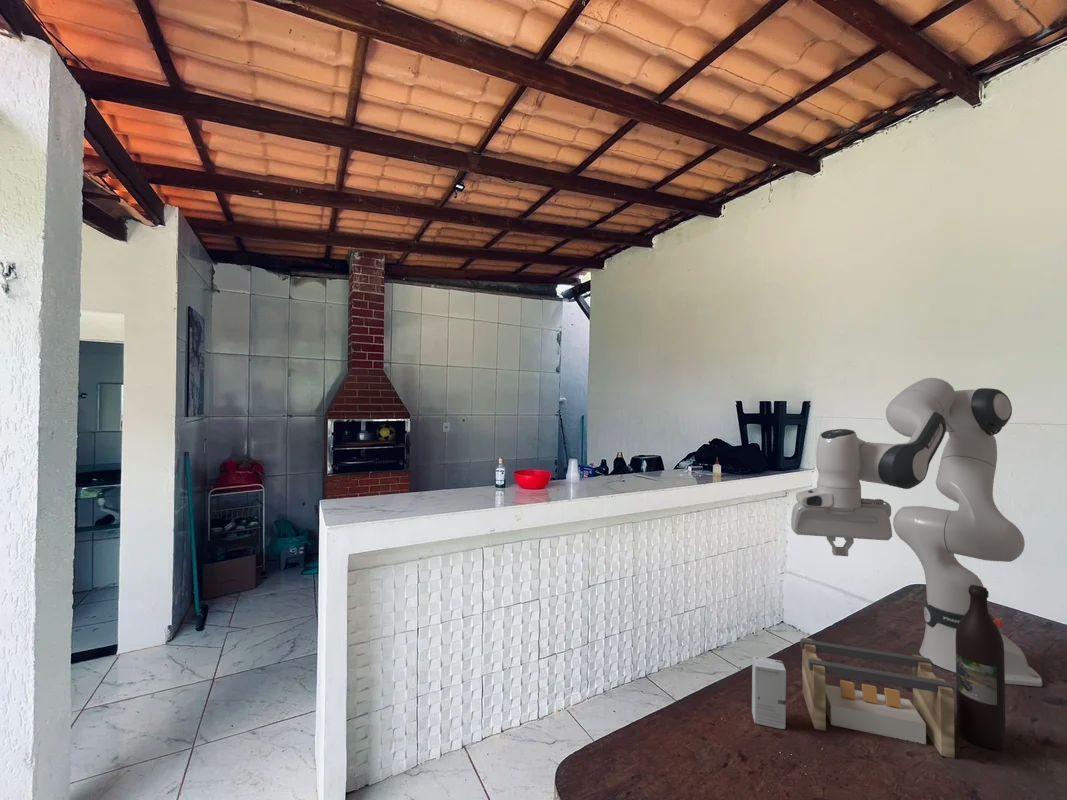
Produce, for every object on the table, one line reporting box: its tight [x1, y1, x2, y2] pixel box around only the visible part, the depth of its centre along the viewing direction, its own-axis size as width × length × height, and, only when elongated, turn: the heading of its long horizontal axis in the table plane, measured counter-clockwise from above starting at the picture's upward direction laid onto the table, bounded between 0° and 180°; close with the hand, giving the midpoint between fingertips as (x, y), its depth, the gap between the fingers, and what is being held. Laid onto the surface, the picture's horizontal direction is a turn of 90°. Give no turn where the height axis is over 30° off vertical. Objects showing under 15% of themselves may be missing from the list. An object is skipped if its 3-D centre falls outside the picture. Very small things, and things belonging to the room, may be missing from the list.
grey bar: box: [808, 659, 955, 692], centre depth 94 cm, size 24×2×2 cm, turn 69°
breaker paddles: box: [839, 679, 901, 708], centre depth 98 cm, size 10×1×3 cm, turn 69°
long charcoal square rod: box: [800, 638, 934, 671], centre depth 102 cm, size 24×2×2 cm, turn 69°
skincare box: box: [751, 655, 787, 730], centre depth 98 cm, size 6×4×12 cm
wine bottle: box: [955, 585, 1007, 750], centre depth 93 cm, size 7×7×30 cm
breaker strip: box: [825, 684, 927, 745], centre depth 98 cm, size 16×8×4 cm, turn 69°
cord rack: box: [801, 637, 956, 759], centre depth 98 cm, size 23×13×13 cm, turn 69°
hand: (840, 555), depth 111 cm, fingers closed
